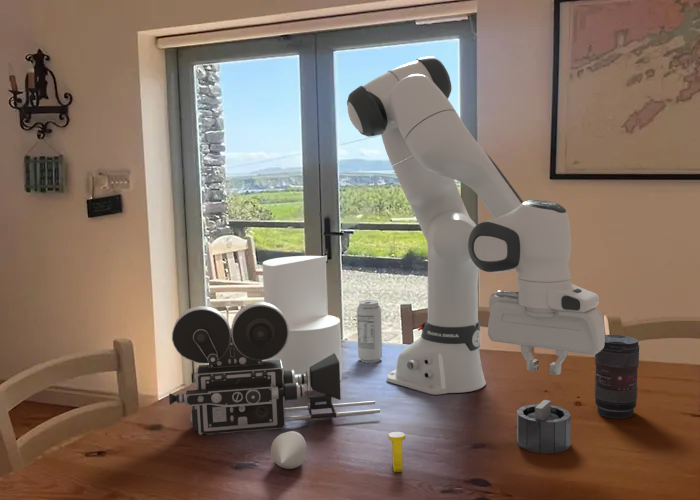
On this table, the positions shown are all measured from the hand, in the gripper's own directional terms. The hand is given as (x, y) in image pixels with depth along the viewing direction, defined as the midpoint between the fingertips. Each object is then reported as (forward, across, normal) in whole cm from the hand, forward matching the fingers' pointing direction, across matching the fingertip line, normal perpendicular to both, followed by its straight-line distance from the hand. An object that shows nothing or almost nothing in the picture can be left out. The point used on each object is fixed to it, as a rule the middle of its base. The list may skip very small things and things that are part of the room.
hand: (543, 371), depth 131 cm
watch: (+13, -16, -23) cm, 31 cm away
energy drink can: (+13, -57, +28) cm, 65 cm away
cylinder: (+13, -61, +7) cm, 63 cm away
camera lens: (+13, +6, +22) cm, 26 cm away
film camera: (+13, -47, -18) cm, 52 cm away
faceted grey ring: (+13, 0, 0) cm, 13 cm away
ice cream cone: (+13, -31, -33) cm, 47 cm away
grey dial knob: (+10, 0, -1) cm, 10 cm away
